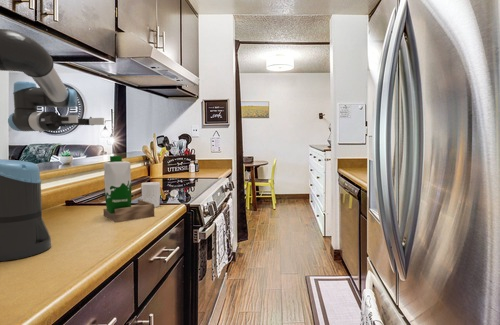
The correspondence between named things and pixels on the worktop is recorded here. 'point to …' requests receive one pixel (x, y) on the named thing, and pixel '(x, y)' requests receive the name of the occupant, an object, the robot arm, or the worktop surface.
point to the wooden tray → (131, 212)
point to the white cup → (151, 192)
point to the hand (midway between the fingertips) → (91, 120)
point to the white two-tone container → (117, 184)
